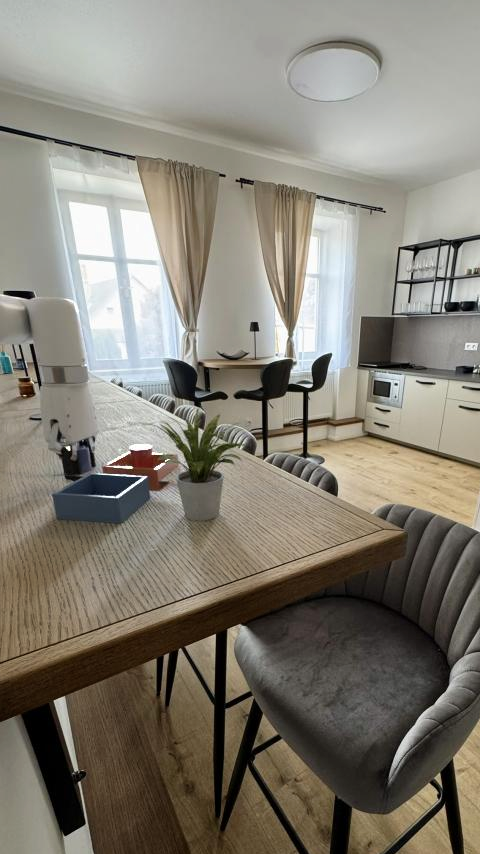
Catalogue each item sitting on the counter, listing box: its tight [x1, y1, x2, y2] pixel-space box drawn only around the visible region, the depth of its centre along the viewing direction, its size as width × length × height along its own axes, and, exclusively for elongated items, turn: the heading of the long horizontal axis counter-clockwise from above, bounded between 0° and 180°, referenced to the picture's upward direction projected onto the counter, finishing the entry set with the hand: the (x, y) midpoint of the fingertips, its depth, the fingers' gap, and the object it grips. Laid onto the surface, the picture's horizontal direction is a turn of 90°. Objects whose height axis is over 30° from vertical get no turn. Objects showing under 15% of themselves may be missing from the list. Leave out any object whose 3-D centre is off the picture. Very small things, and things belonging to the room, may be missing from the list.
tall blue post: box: [66, 444, 93, 482], centre depth 78 cm, size 4×4×6 cm
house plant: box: [146, 406, 247, 522], centre depth 60 cm, size 14×14×16 cm
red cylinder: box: [129, 444, 155, 468], centre depth 77 cm, size 4×4×6 cm
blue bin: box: [51, 472, 151, 524], centre depth 65 cm, size 10×10×4 cm
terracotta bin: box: [101, 451, 179, 492], centre depth 78 cm, size 10×10×4 cm
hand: (81, 474), depth 78 cm, fingers closed on tall blue post, 4 cm apart
